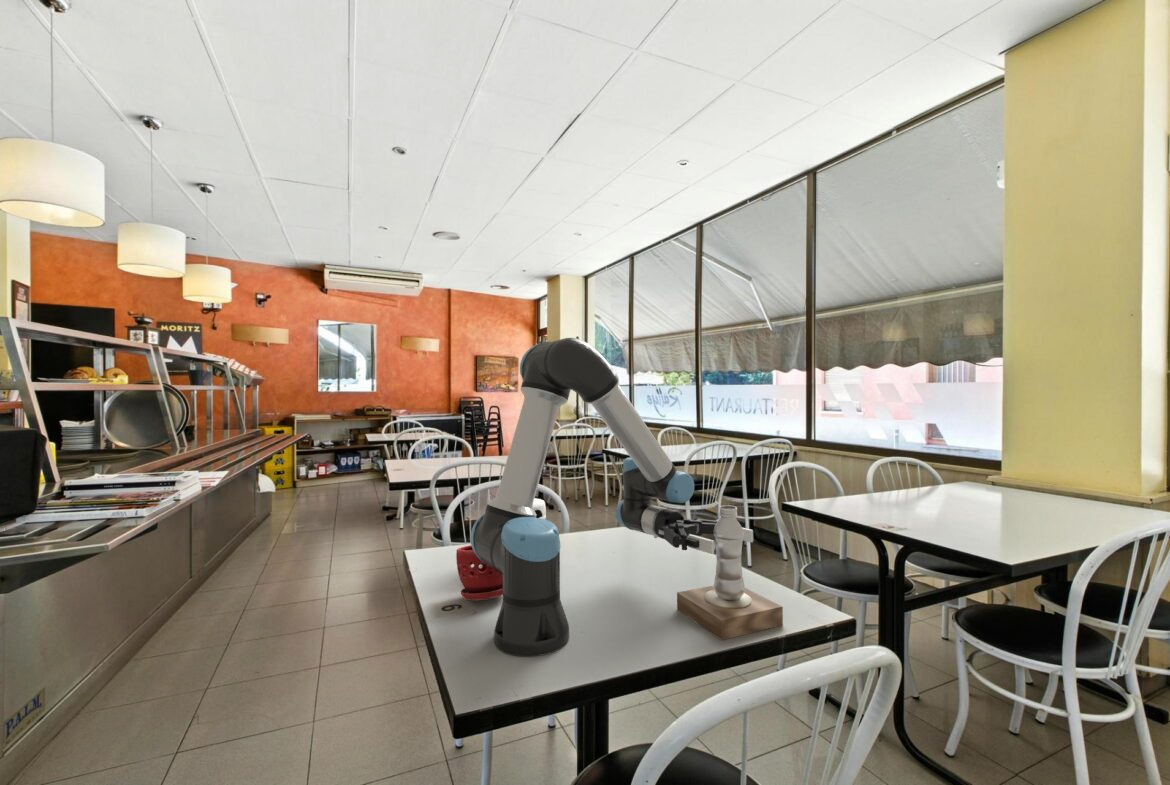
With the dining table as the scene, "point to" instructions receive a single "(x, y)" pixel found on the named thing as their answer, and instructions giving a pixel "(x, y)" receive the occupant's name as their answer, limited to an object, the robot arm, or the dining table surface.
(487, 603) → the dining table surface
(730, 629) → the walnut plinth
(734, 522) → the plastic bottle
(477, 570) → the plant pot
